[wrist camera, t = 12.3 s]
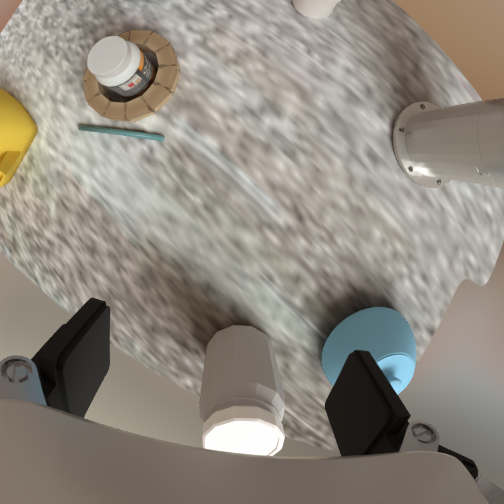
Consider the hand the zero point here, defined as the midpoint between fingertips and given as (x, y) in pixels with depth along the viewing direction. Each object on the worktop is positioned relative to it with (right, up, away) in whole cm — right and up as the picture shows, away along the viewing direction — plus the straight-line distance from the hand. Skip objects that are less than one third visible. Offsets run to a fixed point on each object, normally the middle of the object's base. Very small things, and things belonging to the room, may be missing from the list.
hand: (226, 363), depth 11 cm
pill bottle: (-14, +26, +21) cm, 37 cm away
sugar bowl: (+18, -10, +34) cm, 40 cm away
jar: (-1, -10, +33) cm, 34 cm away
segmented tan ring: (-14, +26, +21) cm, 37 cm away
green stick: (-16, +19, +23) cm, 34 cm away
